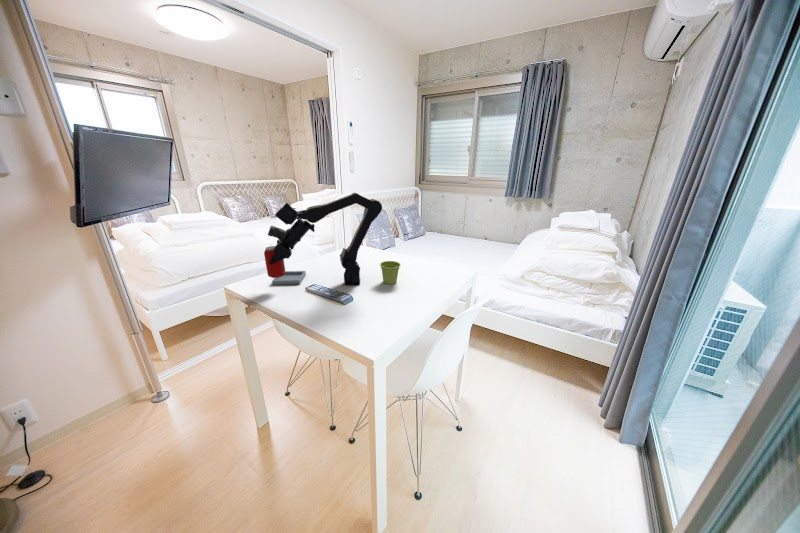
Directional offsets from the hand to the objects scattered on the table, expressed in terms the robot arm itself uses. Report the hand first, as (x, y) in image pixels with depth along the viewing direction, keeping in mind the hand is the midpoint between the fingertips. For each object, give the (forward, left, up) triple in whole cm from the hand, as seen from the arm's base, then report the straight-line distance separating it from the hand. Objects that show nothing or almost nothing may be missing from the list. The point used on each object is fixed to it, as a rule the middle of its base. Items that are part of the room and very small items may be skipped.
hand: (271, 260), depth 110 cm
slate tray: (-3, -12, -13) cm, 18 cm away
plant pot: (-49, -7, -13) cm, 51 cm away
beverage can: (-1, 0, -7) cm, 7 cm away
